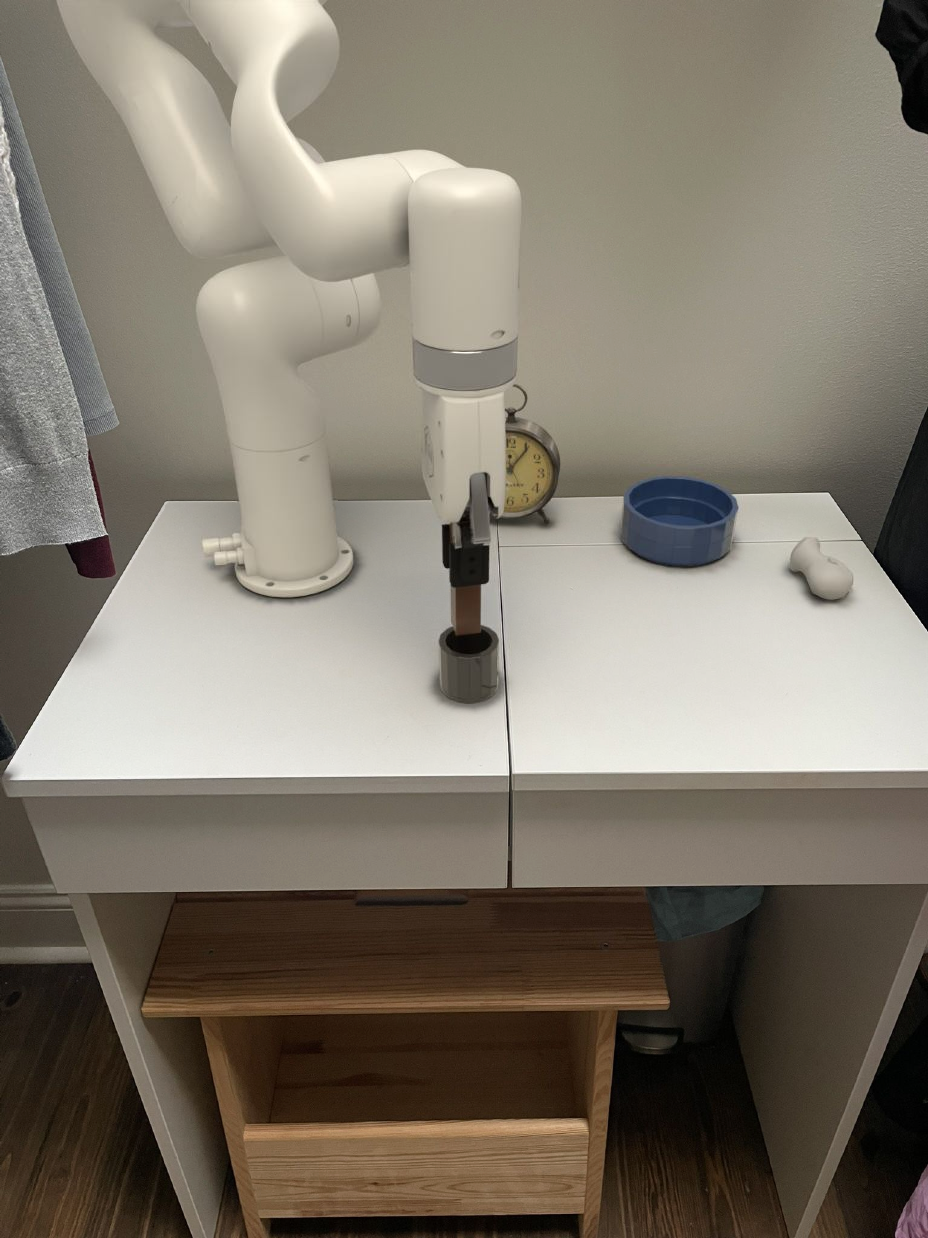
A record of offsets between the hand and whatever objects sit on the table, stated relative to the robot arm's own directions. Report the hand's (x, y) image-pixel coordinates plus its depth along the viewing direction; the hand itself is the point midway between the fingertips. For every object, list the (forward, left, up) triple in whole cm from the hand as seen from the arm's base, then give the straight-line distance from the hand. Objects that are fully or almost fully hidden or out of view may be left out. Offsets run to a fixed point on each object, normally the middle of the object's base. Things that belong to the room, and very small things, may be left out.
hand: (465, 573), depth 79 cm
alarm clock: (+12, +29, -12) cm, 34 cm away
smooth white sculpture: (+39, +8, -12) cm, 42 cm away
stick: (0, 0, -6) cm, 6 cm away
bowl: (+28, +20, -12) cm, 36 cm away
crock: (0, 0, -12) cm, 12 cm away
